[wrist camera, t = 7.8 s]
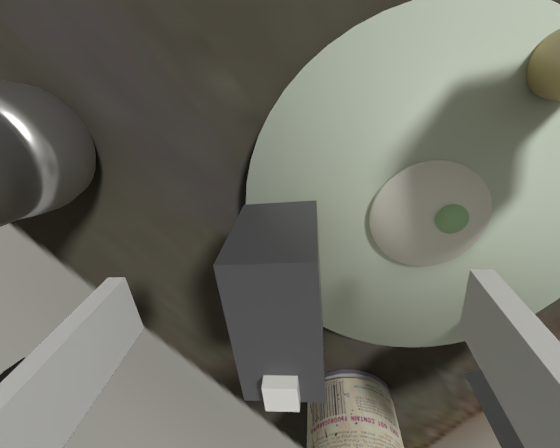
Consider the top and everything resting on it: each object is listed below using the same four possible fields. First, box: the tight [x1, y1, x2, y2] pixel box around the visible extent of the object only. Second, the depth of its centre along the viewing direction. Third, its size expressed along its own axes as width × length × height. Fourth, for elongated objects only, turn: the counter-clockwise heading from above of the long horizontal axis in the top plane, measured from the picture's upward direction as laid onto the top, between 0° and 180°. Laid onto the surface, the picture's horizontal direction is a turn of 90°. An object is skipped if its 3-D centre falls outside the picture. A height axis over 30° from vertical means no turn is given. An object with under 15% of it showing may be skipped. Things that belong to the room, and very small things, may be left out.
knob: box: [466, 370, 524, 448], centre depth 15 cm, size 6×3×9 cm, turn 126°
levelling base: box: [246, 0, 560, 347], centre depth 17 cm, size 20×20×2 cm
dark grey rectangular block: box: [213, 201, 326, 412], centre depth 14 cm, size 6×3×9 cm, turn 6°
